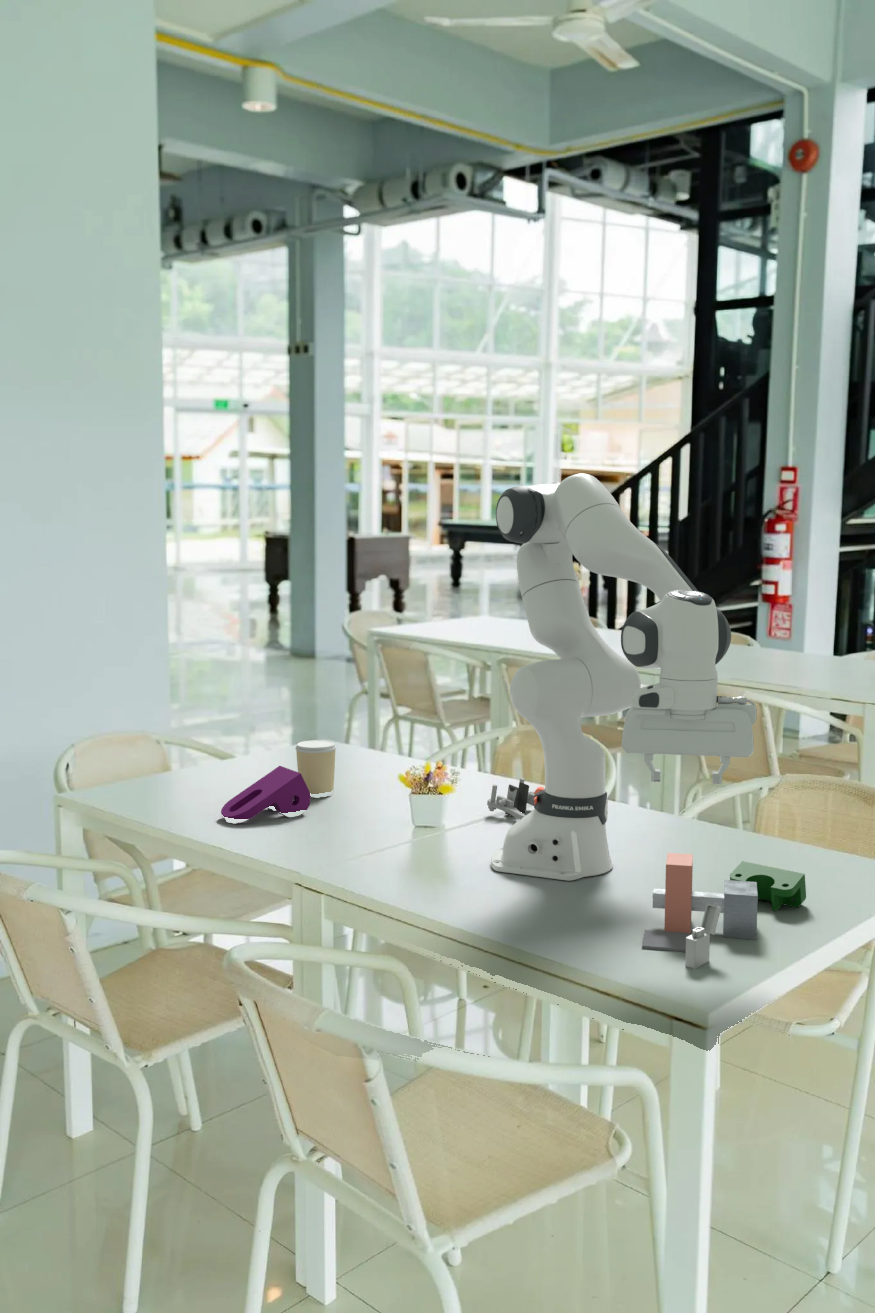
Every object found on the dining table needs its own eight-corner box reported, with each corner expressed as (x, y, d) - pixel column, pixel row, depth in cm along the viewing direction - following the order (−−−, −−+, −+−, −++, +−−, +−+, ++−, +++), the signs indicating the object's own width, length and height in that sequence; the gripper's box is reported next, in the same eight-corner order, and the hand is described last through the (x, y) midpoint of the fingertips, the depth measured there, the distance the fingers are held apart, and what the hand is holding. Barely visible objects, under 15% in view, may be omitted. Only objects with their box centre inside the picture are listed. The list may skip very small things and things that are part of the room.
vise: (651, 931, 187) (652, 888, 187) (653, 916, 194) (654, 875, 193) (756, 939, 184) (757, 896, 183) (755, 924, 190) (756, 882, 190)
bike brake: (479, 813, 257) (551, 844, 244) (483, 783, 255) (556, 813, 242) (519, 802, 267) (591, 832, 254) (523, 773, 265) (595, 802, 252)
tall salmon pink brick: (664, 932, 187) (665, 864, 186) (666, 918, 193) (667, 852, 192) (690, 934, 186) (692, 866, 185) (691, 920, 192) (692, 854, 191)
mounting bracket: (249, 852, 251) (316, 805, 260) (233, 820, 248) (300, 773, 257) (230, 842, 259) (294, 796, 267) (213, 811, 256) (279, 765, 264)
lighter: (695, 969, 172) (696, 916, 171) (684, 966, 174) (686, 913, 172) (719, 955, 178) (721, 903, 176) (709, 952, 179) (711, 901, 178)
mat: (642, 948, 180) (642, 945, 180) (644, 932, 187) (644, 929, 187) (689, 952, 179) (689, 949, 179) (690, 935, 186) (690, 933, 185)
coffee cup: (320, 787, 283) (319, 738, 282) (344, 794, 277) (344, 743, 275) (288, 794, 277) (287, 743, 276) (312, 801, 270) (311, 749, 269)
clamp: (741, 926, 202) (718, 879, 202) (756, 909, 206) (733, 863, 206) (802, 916, 194) (778, 867, 193) (816, 898, 198) (793, 850, 198)
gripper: (755, 694, 186) (753, 780, 188) (623, 690, 190) (622, 775, 192) (758, 700, 180) (755, 790, 181) (621, 696, 184) (620, 784, 186)
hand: (686, 782), depth 187 cm, fingers open, 8 cm apart
